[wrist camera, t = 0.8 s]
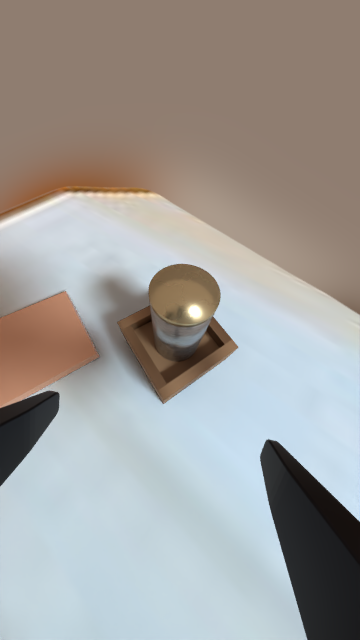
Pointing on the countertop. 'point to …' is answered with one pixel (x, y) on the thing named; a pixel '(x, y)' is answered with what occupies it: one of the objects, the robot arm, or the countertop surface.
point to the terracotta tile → (41, 347)
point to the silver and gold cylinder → (181, 309)
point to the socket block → (168, 373)
